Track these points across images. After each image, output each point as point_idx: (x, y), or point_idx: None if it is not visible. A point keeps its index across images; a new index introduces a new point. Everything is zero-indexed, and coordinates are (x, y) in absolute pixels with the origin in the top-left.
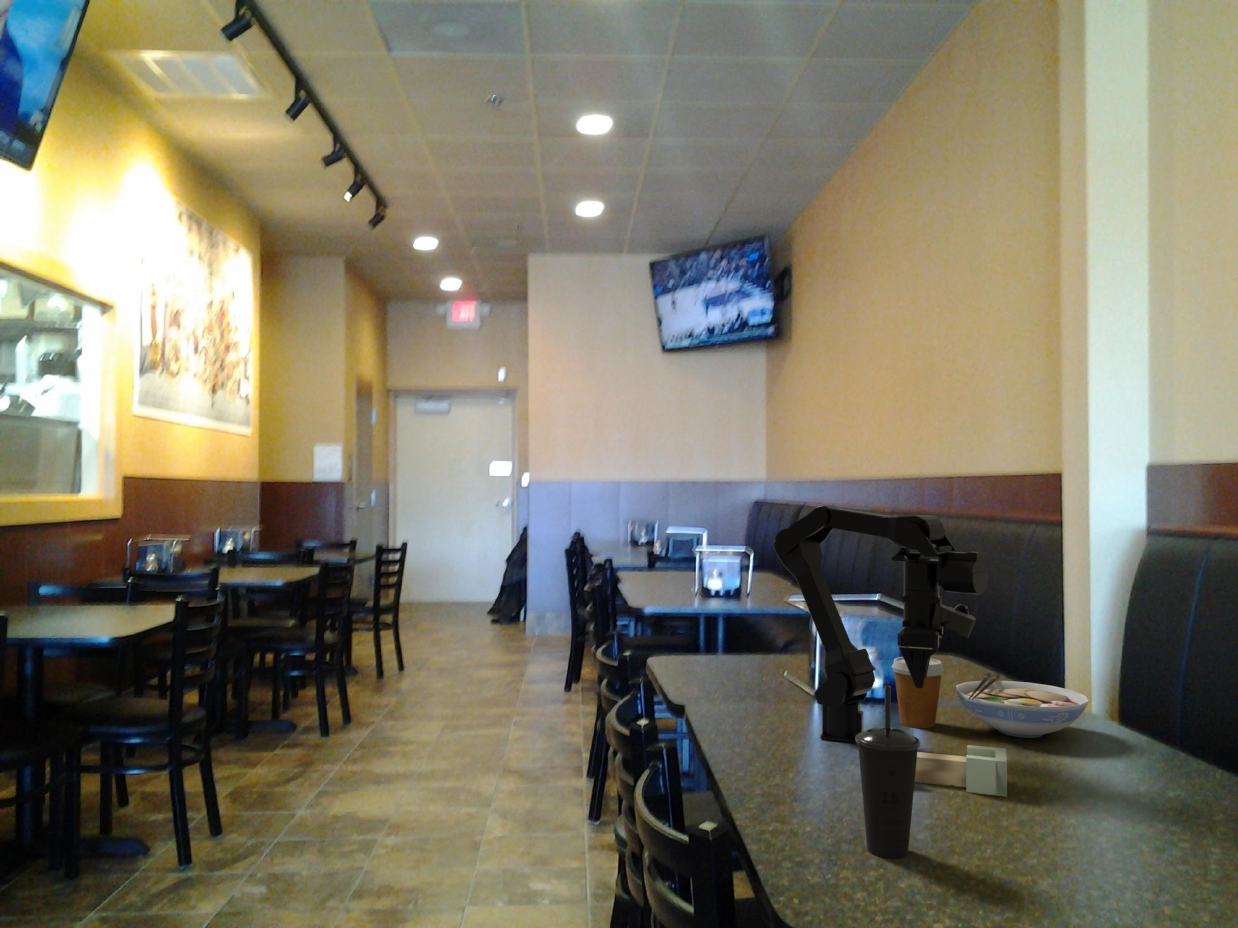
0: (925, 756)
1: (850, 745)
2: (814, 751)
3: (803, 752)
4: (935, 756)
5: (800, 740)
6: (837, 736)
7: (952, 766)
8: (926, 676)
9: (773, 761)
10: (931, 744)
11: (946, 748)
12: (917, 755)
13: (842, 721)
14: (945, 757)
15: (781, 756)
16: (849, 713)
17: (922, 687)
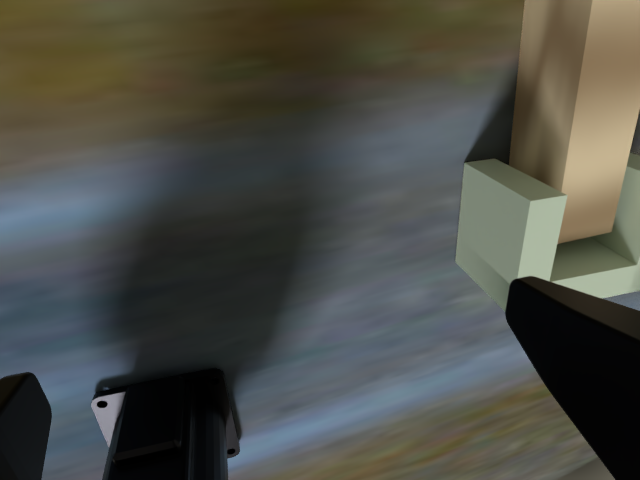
0: (623, 98)
1: (253, 371)
2: (366, 411)
3: (387, 424)
4: (620, 61)
5: (275, 471)
6: (225, 423)
7: None
8: (19, 377)
9: (485, 435)
10: (38, 152)
11: (62, 78)
12: (614, 129)
13: (223, 456)
14: (630, 18)
15: (441, 440)
16: (208, 469)
17: (531, 277)
